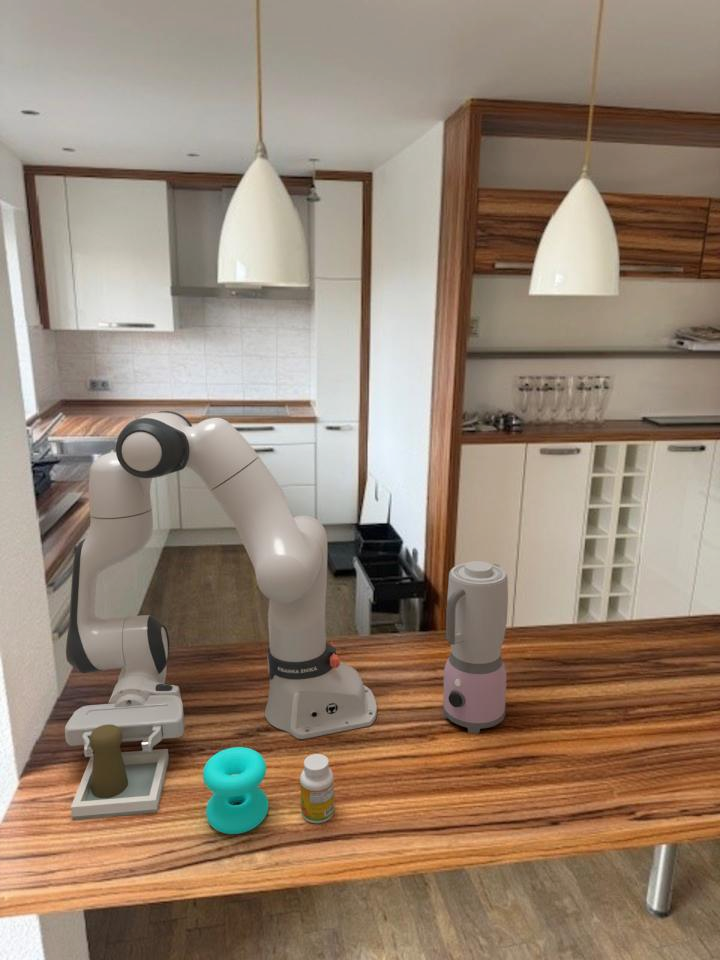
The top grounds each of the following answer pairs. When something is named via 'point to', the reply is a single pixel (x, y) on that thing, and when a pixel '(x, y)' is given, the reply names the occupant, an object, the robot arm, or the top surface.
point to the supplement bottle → (317, 789)
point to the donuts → (235, 790)
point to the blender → (475, 645)
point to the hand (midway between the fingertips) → (117, 750)
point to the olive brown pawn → (107, 762)
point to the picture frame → (136, 798)
